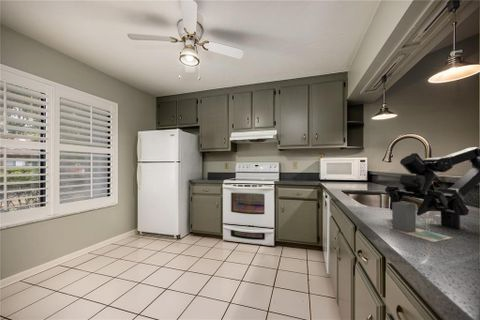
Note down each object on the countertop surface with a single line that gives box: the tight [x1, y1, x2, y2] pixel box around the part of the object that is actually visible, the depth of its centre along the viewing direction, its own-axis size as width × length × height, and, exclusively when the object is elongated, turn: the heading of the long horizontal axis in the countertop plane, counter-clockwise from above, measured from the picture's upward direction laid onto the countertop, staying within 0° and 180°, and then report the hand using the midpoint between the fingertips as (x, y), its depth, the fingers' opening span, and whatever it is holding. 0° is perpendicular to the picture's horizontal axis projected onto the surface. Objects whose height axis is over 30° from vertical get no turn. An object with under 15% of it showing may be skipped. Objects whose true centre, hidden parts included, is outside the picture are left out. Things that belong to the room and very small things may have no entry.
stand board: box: [386, 226, 454, 243], centre depth 73 cm, size 11×15×5 cm
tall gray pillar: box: [391, 201, 417, 233], centre depth 76 cm, size 5×5×10 cm
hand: (403, 211), depth 76 cm, fingers open, 9 cm apart
